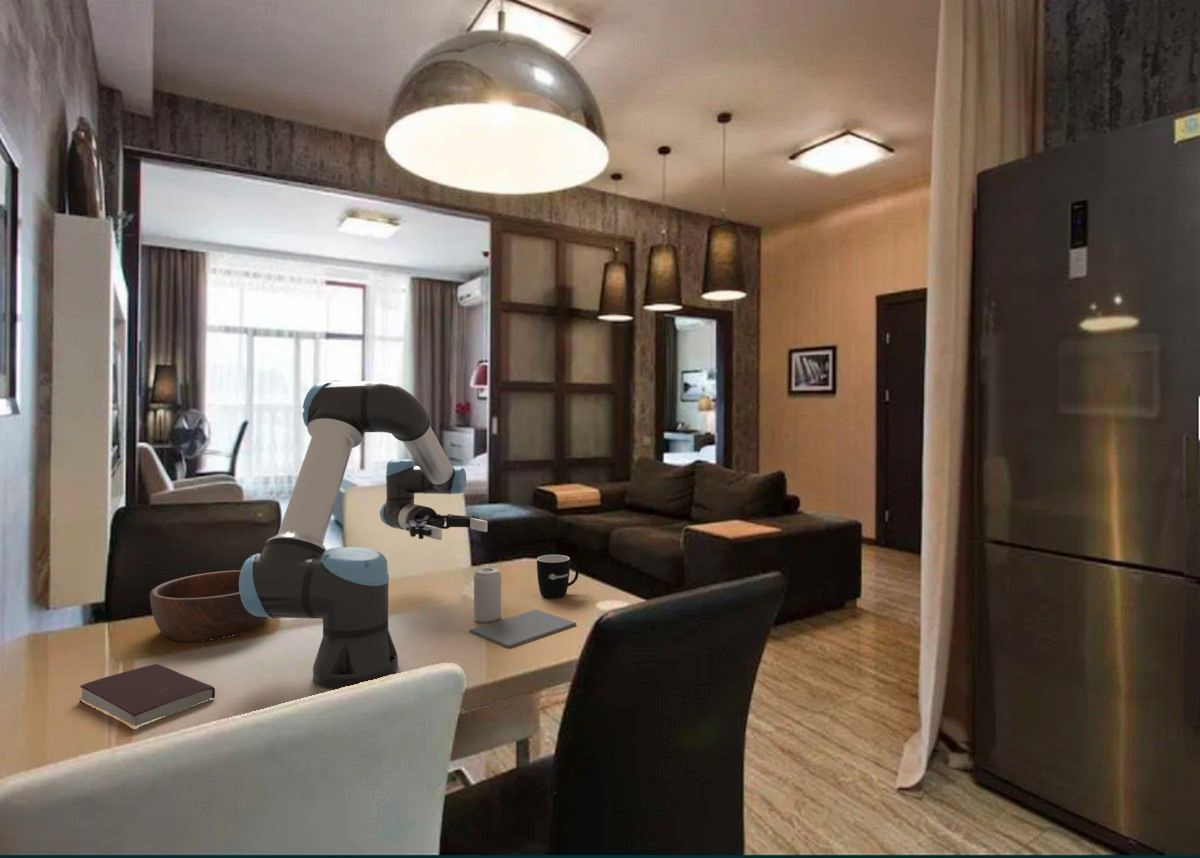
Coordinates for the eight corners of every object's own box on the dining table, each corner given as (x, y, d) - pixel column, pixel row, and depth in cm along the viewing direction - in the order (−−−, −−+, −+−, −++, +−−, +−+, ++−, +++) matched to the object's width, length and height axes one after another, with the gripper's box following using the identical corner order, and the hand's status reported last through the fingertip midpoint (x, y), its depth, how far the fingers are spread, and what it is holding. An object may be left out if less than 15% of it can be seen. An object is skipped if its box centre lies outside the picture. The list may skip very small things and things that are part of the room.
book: (159, 677, 120) (159, 660, 120) (215, 701, 110) (215, 683, 110) (78, 704, 109) (78, 685, 109) (133, 733, 99) (133, 713, 99)
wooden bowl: (208, 654, 130) (207, 604, 130) (122, 639, 138) (121, 592, 138) (301, 616, 154) (301, 574, 154) (223, 606, 162) (223, 566, 162)
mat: (508, 648, 134) (508, 645, 134) (469, 632, 144) (469, 629, 144) (575, 625, 149) (575, 622, 149) (536, 611, 158) (536, 609, 158)
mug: (544, 602, 167) (544, 563, 166) (531, 593, 174) (531, 556, 174) (585, 595, 172) (585, 558, 172) (571, 587, 180) (571, 552, 180)
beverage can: (502, 615, 156) (502, 566, 155) (499, 624, 149) (499, 573, 149) (476, 615, 155) (476, 566, 155) (471, 624, 149) (471, 573, 149)
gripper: (457, 526, 182) (503, 537, 168) (375, 540, 164) (419, 553, 150) (457, 500, 182) (503, 509, 168) (375, 511, 164) (419, 521, 149)
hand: (464, 530), depth 159 cm, fingers open, 13 cm apart
